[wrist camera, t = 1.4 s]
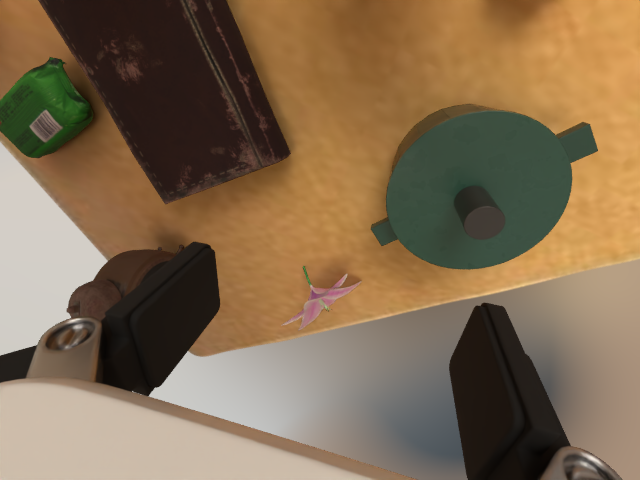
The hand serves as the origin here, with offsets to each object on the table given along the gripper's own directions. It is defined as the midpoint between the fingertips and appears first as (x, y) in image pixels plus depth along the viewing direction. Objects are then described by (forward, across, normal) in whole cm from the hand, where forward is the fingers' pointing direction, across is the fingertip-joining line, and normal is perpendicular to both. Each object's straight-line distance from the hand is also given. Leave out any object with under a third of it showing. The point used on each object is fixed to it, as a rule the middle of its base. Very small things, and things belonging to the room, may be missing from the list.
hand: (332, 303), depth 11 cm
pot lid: (+19, -9, +2) cm, 21 cm away
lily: (+28, +4, +21) cm, 35 cm away
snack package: (+27, +43, +1) cm, 51 cm away
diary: (+27, +24, -5) cm, 37 cm away
